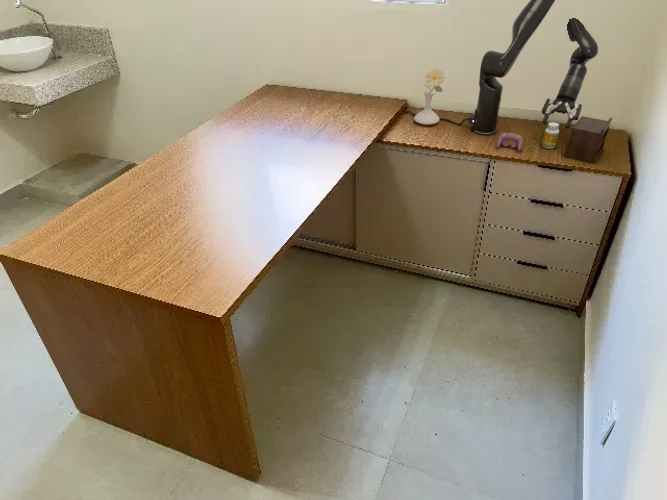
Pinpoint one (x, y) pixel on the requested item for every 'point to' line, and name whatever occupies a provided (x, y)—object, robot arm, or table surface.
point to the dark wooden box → (587, 139)
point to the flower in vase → (430, 97)
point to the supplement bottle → (551, 135)
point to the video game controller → (513, 137)
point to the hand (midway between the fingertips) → (555, 125)
